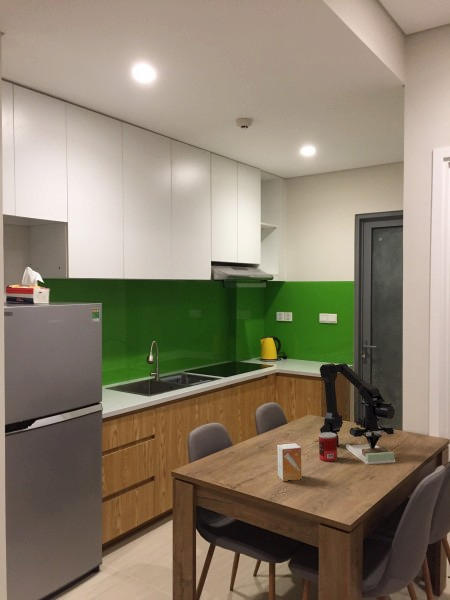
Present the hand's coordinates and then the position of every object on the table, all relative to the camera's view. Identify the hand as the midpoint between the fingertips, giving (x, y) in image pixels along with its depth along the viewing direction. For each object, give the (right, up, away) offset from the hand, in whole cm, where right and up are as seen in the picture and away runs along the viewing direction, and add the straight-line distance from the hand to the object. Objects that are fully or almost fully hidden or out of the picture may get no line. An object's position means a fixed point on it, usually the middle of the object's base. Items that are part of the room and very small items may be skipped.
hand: (372, 449), depth 226 cm
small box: (-40, -5, -23) cm, 47 cm away
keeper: (0, -2, -3) cm, 3 cm away
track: (0, -3, +3) cm, 4 cm away
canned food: (-20, -4, -1) cm, 20 cm away
